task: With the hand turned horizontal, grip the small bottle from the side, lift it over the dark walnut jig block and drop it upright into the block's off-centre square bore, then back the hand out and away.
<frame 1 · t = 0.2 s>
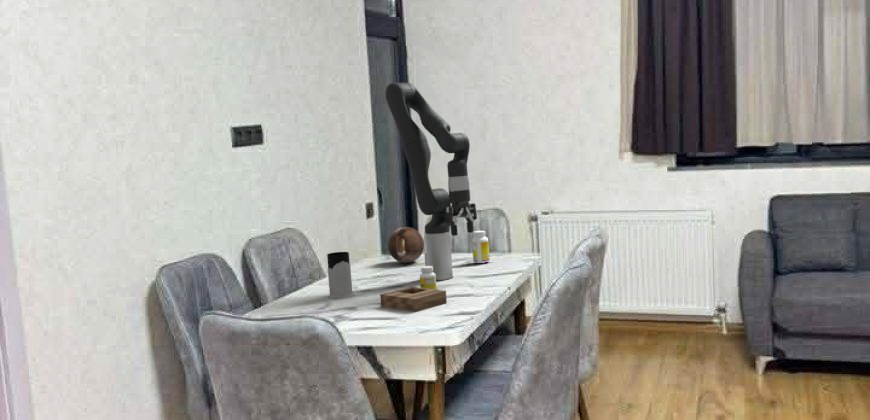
hand: (462, 234, 319), 17 cm above the table, tool pointing down, fingers open, 8 cm apart
supplement bottle 2: (481, 263, 359), on the table
wooden sphere: (407, 263, 372), on the table
walnut jig: (413, 304, 286), on the table
glass holder: (338, 295, 312), on the table
supplement bottle: (429, 296, 300), on the table
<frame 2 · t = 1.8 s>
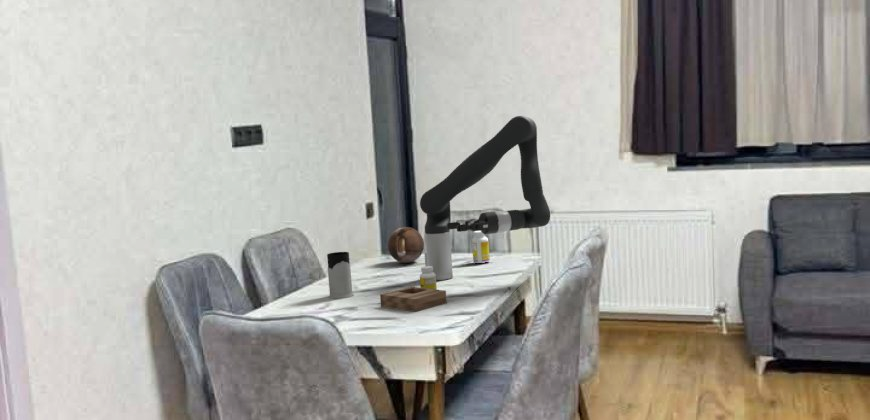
hand: (452, 227, 301), 22 cm above the table, tool horizontal, fingers open, 8 cm apart
nothing on the table moved.
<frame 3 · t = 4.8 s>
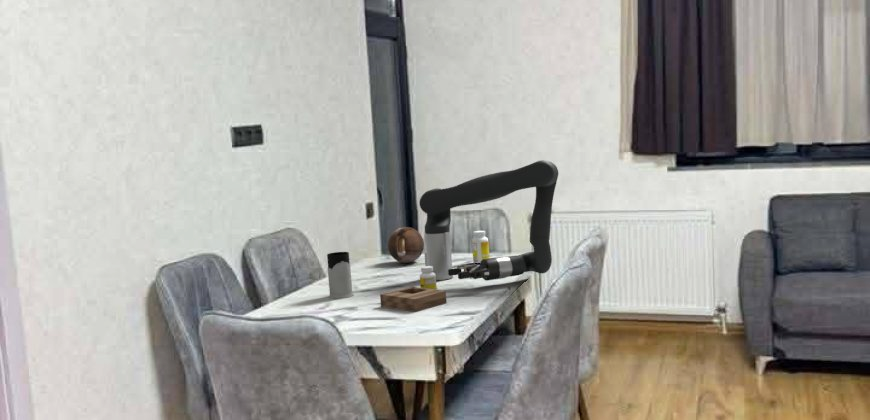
hand: (453, 274, 302), 6 cm above the table, tool horizontal, fingers open, 8 cm apart
nothing on the table moved.
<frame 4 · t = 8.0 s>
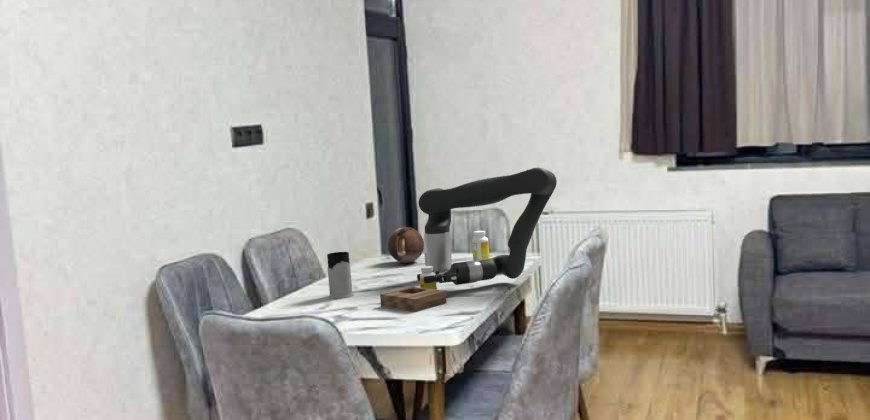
hand: (420, 278, 298), 6 cm above the table, tool horizontal, fingers closed on supplement bottle, 5 cm apart
supplement bottle: (429, 296, 300), on the table, touching gripper
everything else where it was.
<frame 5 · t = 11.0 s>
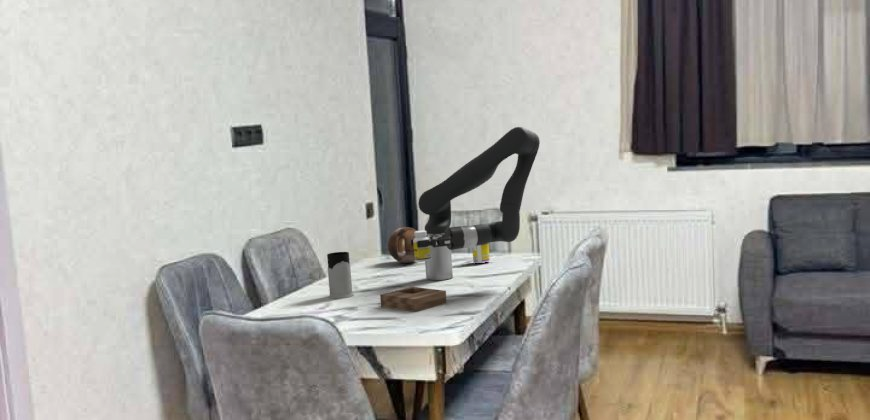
hand: (414, 243, 293), 19 cm above the table, tool horizontal, fingers closed on supplement bottle, 5 cm apart
supplement bottle: (423, 261, 294), point 12 cm above the table, touching gripper
everything else where it was.
when the fingers open (10 cm above the table, at t = 14.2 s): supplement bottle drops 1 cm, resting on walnut jig.
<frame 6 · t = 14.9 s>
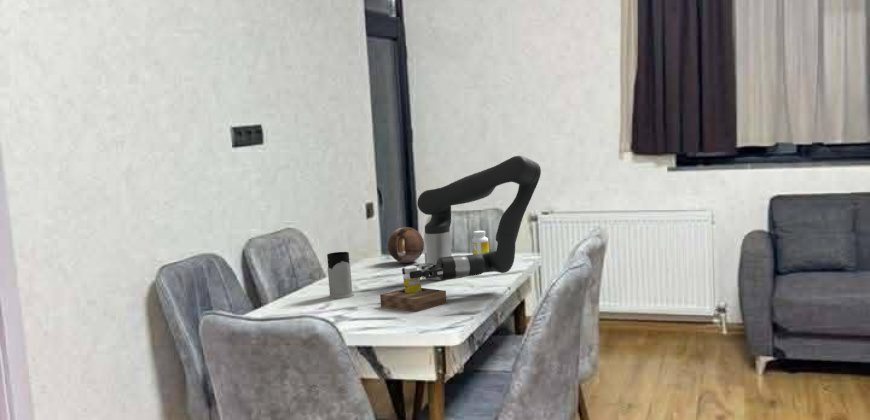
hand: (406, 273, 287), 10 cm above the table, tool horizontal, fingers open, 8 cm apart
supplement bottle: (413, 296, 289), point 2 cm above the table, touching walnut jig
everything else where it was.
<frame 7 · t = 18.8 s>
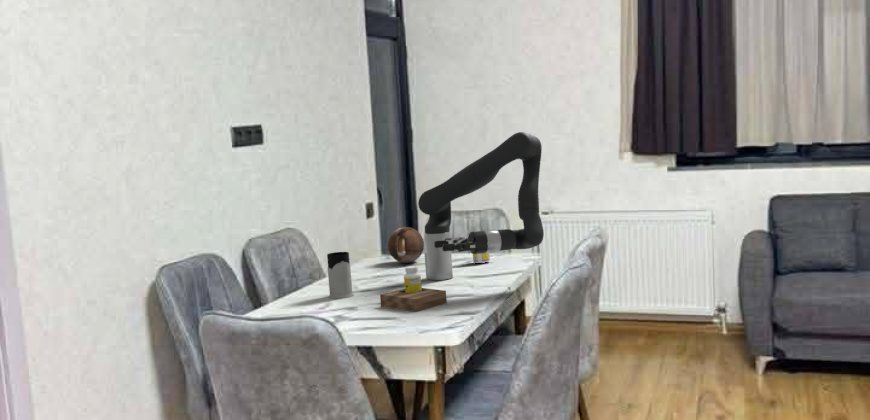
hand: (438, 246, 290), 18 cm above the table, tool horizontal, fingers open, 8 cm apart
nothing on the table moved.
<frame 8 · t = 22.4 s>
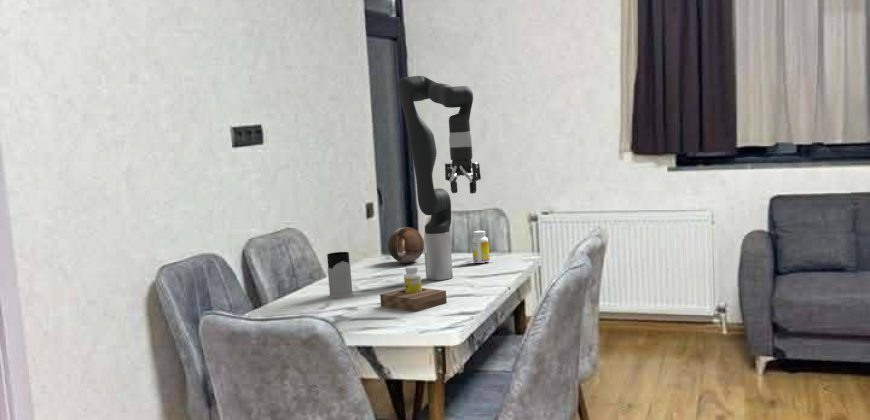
hand: (463, 193, 303), 33 cm above the table, tool pointing down, fingers open, 8 cm apart
nothing on the table moved.
at the end: supplement bottle 0.2 cm from the target spot on the walnut jig, point 1.8 cm above the walnut jig's base; supplement bottle tilted 1°; the gripper is holding nothing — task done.
